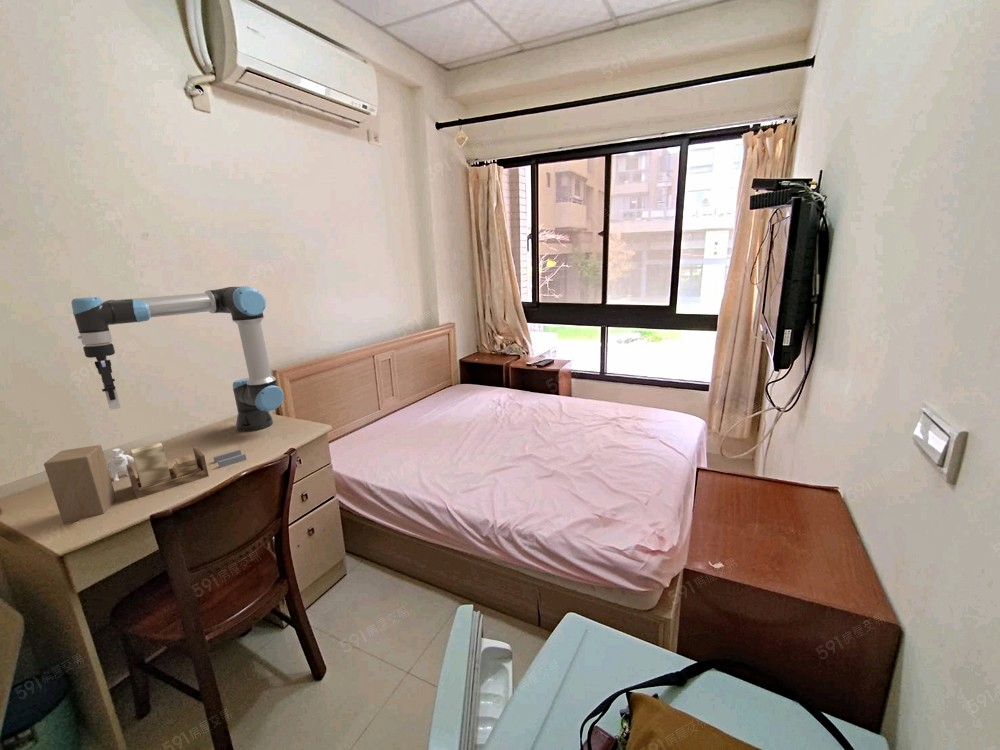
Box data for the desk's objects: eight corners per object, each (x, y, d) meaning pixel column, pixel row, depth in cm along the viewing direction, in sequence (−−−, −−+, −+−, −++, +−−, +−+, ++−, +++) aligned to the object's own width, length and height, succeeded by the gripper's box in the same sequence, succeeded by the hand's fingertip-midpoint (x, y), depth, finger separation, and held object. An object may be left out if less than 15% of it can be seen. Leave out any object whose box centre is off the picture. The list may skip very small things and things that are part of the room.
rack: (200, 468, 162) (195, 446, 160) (209, 478, 154) (204, 455, 152) (132, 489, 149) (126, 465, 146) (137, 501, 140) (131, 476, 138)
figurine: (113, 487, 150) (104, 456, 147) (104, 484, 153) (95, 452, 150) (144, 476, 158) (136, 445, 155) (134, 472, 161) (126, 442, 158)
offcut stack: (196, 469, 160) (193, 452, 158) (202, 475, 154) (198, 459, 153) (173, 475, 155) (169, 459, 153) (178, 483, 149) (174, 466, 148)
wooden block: (78, 508, 137) (60, 450, 132) (118, 500, 141) (101, 444, 136) (62, 525, 129) (42, 463, 123) (105, 516, 132) (87, 456, 127)
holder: (241, 455, 173) (239, 447, 172) (249, 462, 166) (248, 454, 165) (212, 463, 166) (210, 456, 165) (219, 471, 159) (218, 463, 158)
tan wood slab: (169, 479, 153) (160, 442, 149) (172, 482, 150) (162, 445, 146) (141, 488, 147) (130, 450, 143) (143, 492, 144) (132, 453, 141)
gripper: (82, 341, 151) (98, 399, 157) (83, 350, 134) (101, 415, 139) (110, 338, 156) (124, 395, 162) (115, 346, 139) (131, 409, 144)
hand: (113, 404), depth 150 cm, fingers open, 13 cm apart
